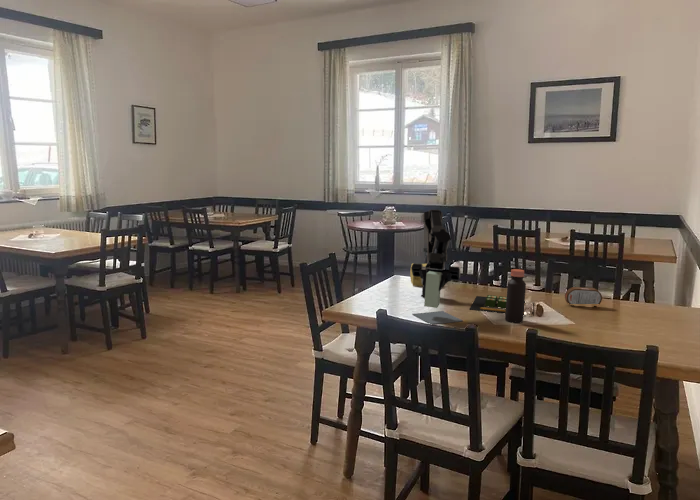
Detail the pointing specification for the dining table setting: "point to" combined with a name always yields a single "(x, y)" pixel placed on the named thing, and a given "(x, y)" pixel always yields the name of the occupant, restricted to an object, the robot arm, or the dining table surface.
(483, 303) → the sushi
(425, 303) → the block
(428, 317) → the mat
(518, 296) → the bottle
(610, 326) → the dining table surface
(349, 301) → the dining table surface
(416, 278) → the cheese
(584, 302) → the tin
